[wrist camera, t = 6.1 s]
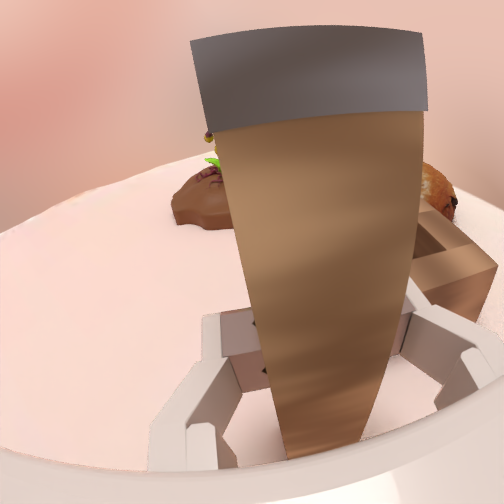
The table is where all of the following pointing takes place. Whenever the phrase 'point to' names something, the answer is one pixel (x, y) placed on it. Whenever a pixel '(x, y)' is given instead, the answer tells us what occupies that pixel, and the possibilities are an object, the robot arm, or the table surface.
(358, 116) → the upright wooden post
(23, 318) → the table surface
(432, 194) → the bread roll
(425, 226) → the square wooden socket base
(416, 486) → the robot arm
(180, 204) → the plant
